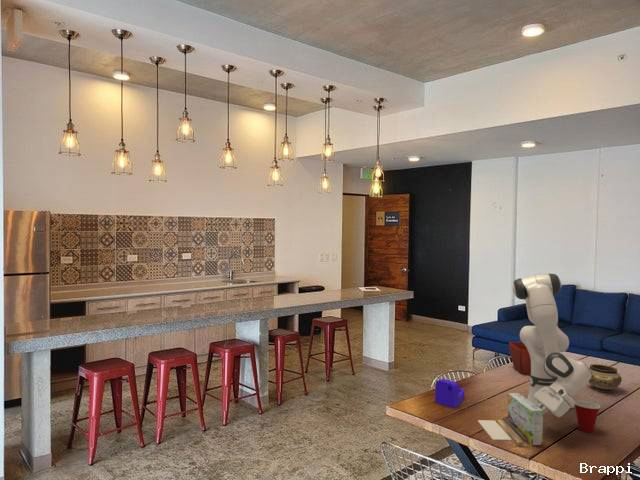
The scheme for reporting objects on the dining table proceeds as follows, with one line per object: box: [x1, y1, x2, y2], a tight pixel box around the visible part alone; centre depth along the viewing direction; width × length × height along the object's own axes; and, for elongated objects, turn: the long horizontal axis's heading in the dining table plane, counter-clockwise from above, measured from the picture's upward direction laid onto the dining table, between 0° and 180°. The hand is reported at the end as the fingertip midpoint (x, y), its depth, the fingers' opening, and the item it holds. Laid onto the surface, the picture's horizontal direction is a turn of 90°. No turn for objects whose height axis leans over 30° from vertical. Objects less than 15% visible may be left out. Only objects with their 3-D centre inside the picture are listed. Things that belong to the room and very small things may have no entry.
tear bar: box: [497, 416, 528, 447], centre depth 210 cm, size 4×23×3 cm, turn 0°
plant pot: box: [508, 341, 531, 376], centre depth 303 cm, size 19×19×17 cm
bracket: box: [434, 378, 466, 409], centre depth 250 cm, size 18×11×12 cm, turn 134°
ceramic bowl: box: [587, 363, 623, 393], centre depth 272 cm, size 24×18×15 cm
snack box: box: [507, 392, 544, 447], centre depth 210 cm, size 21×6×15 cm, turn 5°
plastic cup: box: [574, 400, 601, 433], centre depth 217 cm, size 11×11×12 cm
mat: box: [477, 419, 513, 441], centre depth 214 cm, size 8×20×1 cm, turn 0°
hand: (537, 413), depth 210 cm, fingers closed
